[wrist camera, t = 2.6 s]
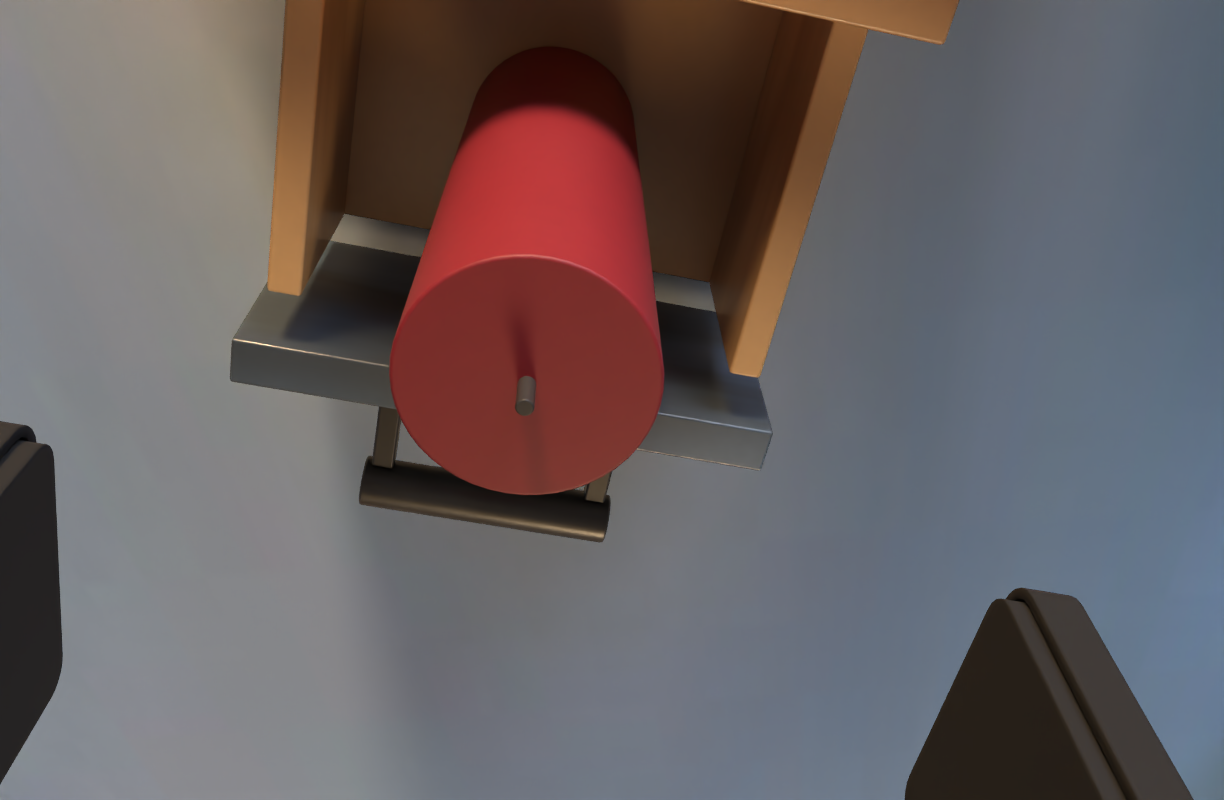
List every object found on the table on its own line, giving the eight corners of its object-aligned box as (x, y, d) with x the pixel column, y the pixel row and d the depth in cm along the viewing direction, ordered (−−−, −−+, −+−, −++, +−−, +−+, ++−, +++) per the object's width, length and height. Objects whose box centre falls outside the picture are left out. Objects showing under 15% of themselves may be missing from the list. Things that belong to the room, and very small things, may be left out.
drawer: (695, 474, 37) (715, 611, 31) (282, 406, 35) (221, 535, 30) (870, -120, 28) (944, -86, 22) (332, -246, 27) (259, -246, 21)
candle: (504, 228, 31) (446, 553, 19) (444, 77, 29) (331, 327, 17) (655, 180, 31) (701, 483, 18) (604, 22, 29) (616, 238, 16)
